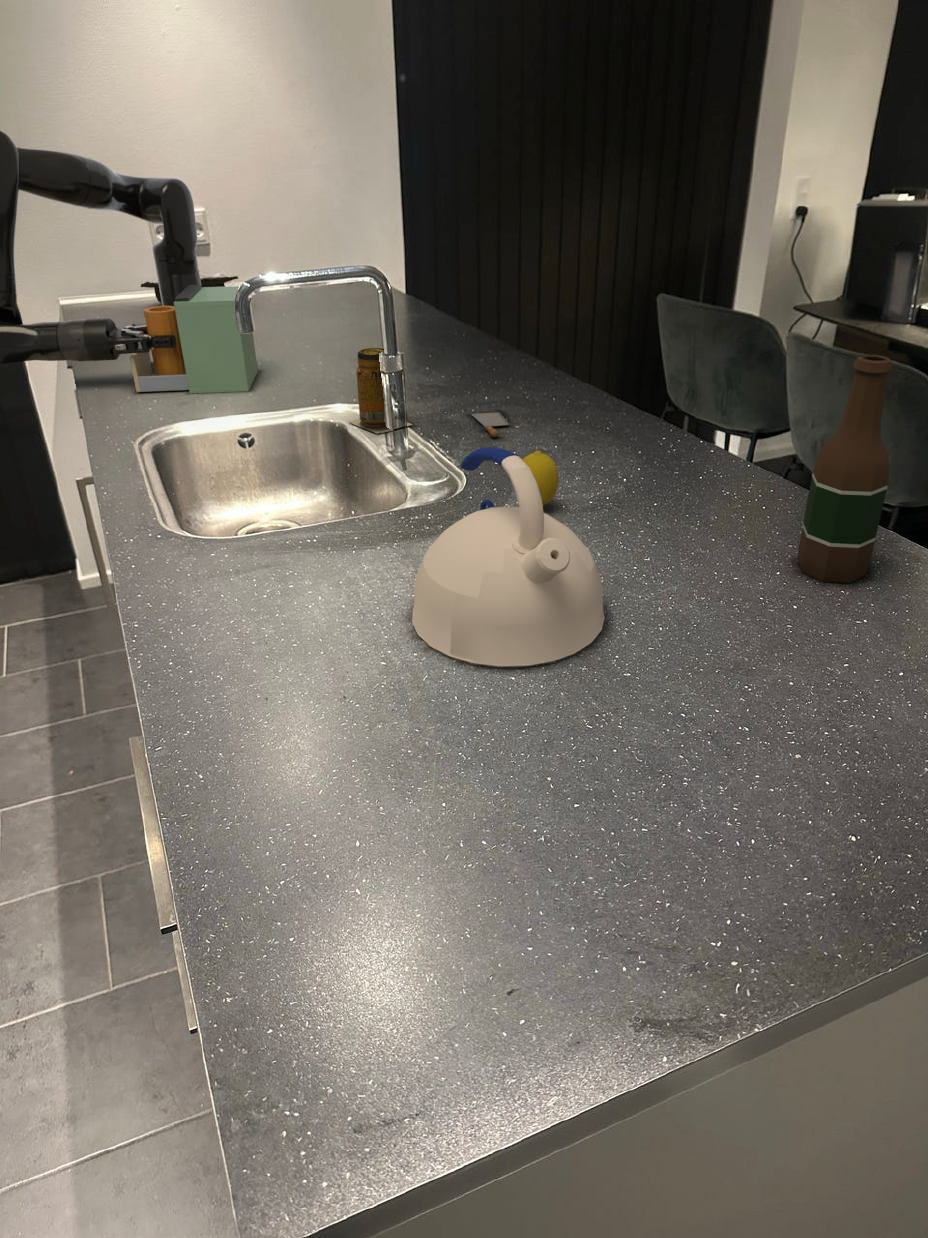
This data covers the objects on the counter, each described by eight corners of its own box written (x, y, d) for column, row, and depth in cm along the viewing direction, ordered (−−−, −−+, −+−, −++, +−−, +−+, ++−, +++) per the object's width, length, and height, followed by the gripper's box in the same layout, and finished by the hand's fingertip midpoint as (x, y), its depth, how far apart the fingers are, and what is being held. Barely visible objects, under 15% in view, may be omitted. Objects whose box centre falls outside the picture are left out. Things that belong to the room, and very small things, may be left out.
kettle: (458, 691, 84) (454, 512, 75) (385, 594, 100) (373, 437, 91) (644, 642, 90) (660, 472, 81) (546, 558, 107) (551, 409, 98)
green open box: (202, 373, 181) (188, 284, 173) (258, 371, 182) (246, 282, 173) (189, 393, 169) (173, 298, 161) (248, 391, 170) (235, 296, 161)
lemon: (529, 520, 117) (530, 461, 113) (508, 505, 121) (508, 448, 117) (565, 511, 119) (567, 453, 115) (543, 497, 123) (544, 441, 119)
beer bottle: (859, 591, 99) (909, 371, 87) (787, 574, 102) (825, 361, 90) (873, 563, 104) (922, 353, 92) (804, 548, 108) (843, 344, 96)
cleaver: (498, 415, 156) (470, 417, 155) (498, 408, 156) (470, 410, 155) (520, 436, 145) (490, 439, 144) (520, 428, 144) (490, 431, 143)
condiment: (383, 414, 156) (379, 343, 150) (412, 425, 151) (409, 352, 144) (348, 423, 152) (342, 351, 146) (376, 435, 147) (371, 360, 141)
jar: (160, 374, 177) (148, 306, 170) (191, 373, 177) (180, 305, 171) (153, 383, 172) (140, 312, 165) (185, 382, 172) (173, 311, 166)
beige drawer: (150, 375, 180) (143, 342, 176) (205, 373, 180) (199, 340, 177) (136, 391, 170) (129, 357, 167) (194, 389, 170) (189, 354, 167)
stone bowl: (192, 321, 222) (183, 281, 218) (127, 318, 235) (117, 281, 231) (262, 301, 240) (255, 264, 235) (198, 300, 253) (190, 265, 248)
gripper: (72, 328, 162) (167, 324, 163) (95, 311, 174) (183, 308, 175) (82, 370, 166) (174, 366, 166) (103, 350, 178) (189, 347, 179)
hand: (178, 336), depth 171 cm, fingers closed on jar, 6 cm apart
